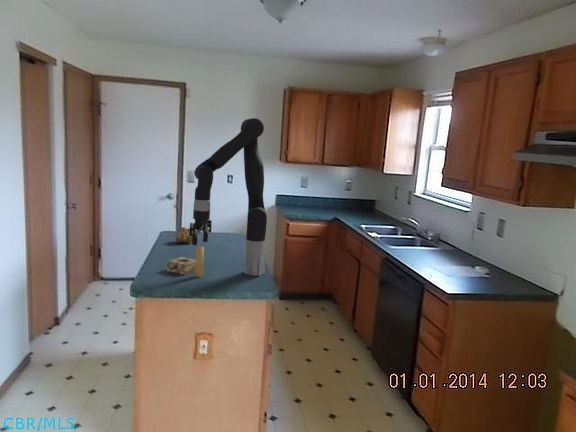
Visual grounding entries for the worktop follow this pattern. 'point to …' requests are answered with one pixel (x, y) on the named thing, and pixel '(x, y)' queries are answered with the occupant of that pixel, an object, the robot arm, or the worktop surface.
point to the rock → (183, 236)
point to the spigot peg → (199, 261)
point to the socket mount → (181, 265)
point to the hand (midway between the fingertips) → (200, 243)
